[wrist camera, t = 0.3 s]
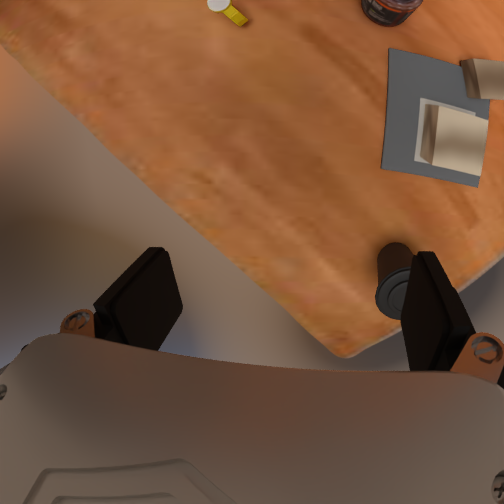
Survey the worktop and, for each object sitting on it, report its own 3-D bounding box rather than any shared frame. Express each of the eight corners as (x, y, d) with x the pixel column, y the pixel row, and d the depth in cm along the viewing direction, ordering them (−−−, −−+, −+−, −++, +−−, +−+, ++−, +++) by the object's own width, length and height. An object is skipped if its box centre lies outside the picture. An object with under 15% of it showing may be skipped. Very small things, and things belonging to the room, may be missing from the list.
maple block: (425, 104, 29) (438, 105, 25) (471, 116, 28) (488, 120, 24) (419, 156, 33) (432, 165, 28) (464, 166, 31) (480, 176, 27)
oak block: (460, 60, 25) (473, 58, 21) (489, 63, 23) (503, 61, 20) (467, 97, 27) (481, 98, 24) (495, 98, 25) (510, 100, 22)
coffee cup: (424, 271, 41) (441, 313, 32) (376, 288, 44) (384, 332, 36) (412, 226, 38) (432, 262, 30) (361, 244, 41) (368, 284, 33)
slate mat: (388, 48, 28) (389, 48, 27) (488, 77, 25) (490, 77, 24) (380, 167, 35) (381, 168, 35) (476, 186, 33) (478, 187, 32)
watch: (213, 8, 30) (193, -5, 25) (228, -5, 28) (210, -20, 23) (241, 34, 31) (224, 22, 26) (257, 21, 29) (243, 7, 24)
